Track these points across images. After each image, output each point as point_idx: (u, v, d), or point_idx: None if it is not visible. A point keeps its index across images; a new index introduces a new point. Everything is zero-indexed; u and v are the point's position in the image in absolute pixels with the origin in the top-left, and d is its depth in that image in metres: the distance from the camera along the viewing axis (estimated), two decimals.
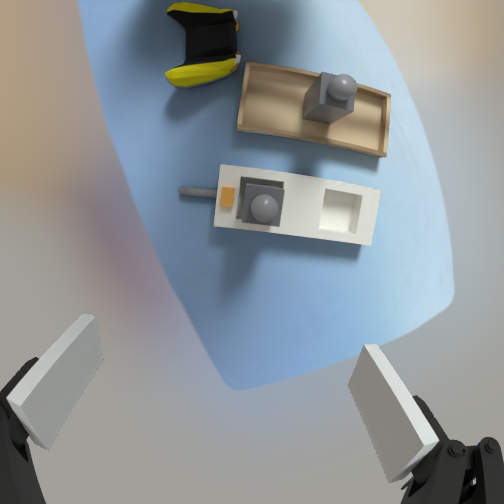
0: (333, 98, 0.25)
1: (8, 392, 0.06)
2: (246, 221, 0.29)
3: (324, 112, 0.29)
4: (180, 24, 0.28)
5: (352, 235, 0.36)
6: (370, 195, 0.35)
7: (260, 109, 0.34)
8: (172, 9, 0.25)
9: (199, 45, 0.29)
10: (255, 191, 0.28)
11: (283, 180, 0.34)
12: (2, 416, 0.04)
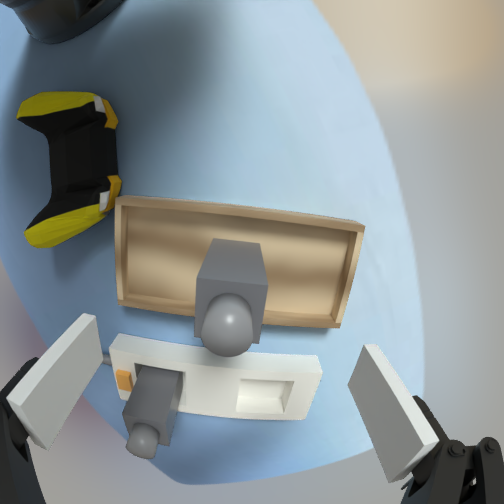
0: None
1: (8, 392, 0.06)
2: None
3: None
4: (39, 131, 0.18)
5: (279, 414, 0.27)
6: (306, 379, 0.26)
7: (148, 269, 0.24)
8: (19, 115, 0.15)
9: (60, 170, 0.19)
10: (134, 420, 0.19)
11: (184, 370, 0.25)
12: (2, 416, 0.04)
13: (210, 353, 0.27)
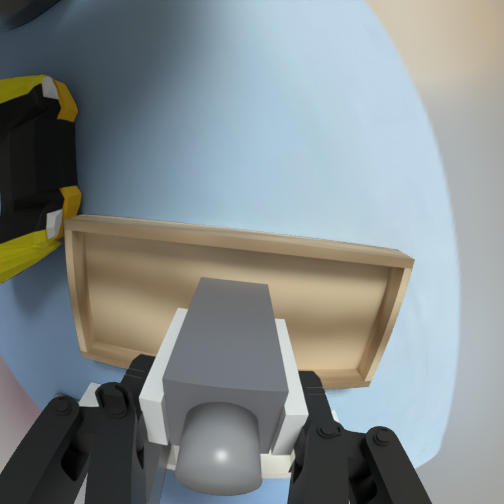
0: None
1: None
2: None
3: None
4: None
5: (287, 473, 0.20)
6: None
7: (116, 314, 0.17)
8: None
9: (6, 182, 0.12)
10: None
11: None
12: (133, 425, 0.06)
13: None
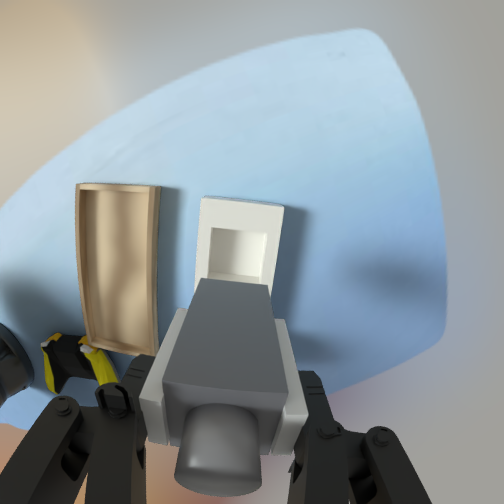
0: None
1: None
2: None
3: None
4: (66, 381, 0.33)
5: (268, 238, 0.27)
6: (210, 214, 0.26)
7: (132, 331, 0.32)
8: (54, 391, 0.30)
9: (80, 372, 0.32)
10: None
11: None
12: (133, 425, 0.06)
13: None
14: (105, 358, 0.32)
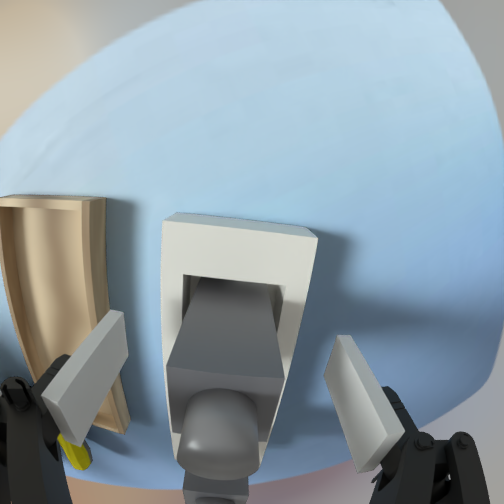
0: None
1: (39, 389, 0.07)
2: None
3: None
4: None
5: (288, 293, 0.15)
6: (179, 251, 0.14)
7: None
8: None
9: None
10: None
11: None
12: (36, 416, 0.05)
13: None
14: None
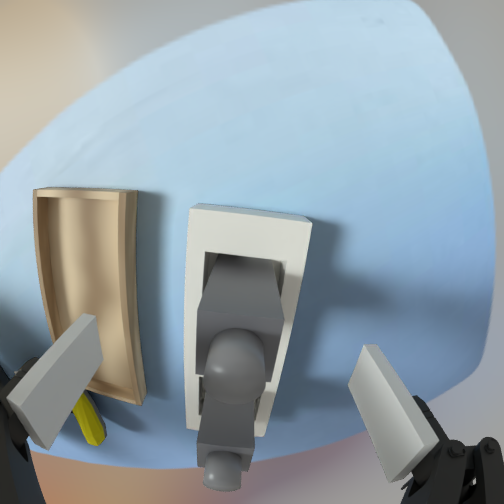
0: None
1: (8, 392, 0.06)
2: (246, 468, 0.16)
3: None
4: None
5: (288, 267, 0.19)
6: (202, 232, 0.18)
7: (113, 371, 0.24)
8: None
9: None
10: (204, 461, 0.16)
11: (196, 377, 0.21)
12: (2, 416, 0.04)
13: None
14: (84, 396, 0.24)
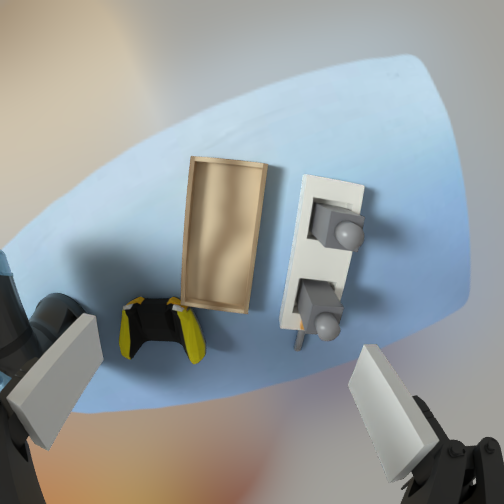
0: None
1: (8, 392, 0.06)
2: None
3: None
4: (141, 345, 0.42)
5: (353, 207, 0.34)
6: (313, 187, 0.34)
7: (227, 289, 0.40)
8: (128, 356, 0.39)
9: (163, 333, 0.41)
10: (311, 326, 0.32)
11: (298, 278, 0.37)
12: (2, 416, 0.04)
13: (291, 256, 0.39)
14: (194, 317, 0.40)
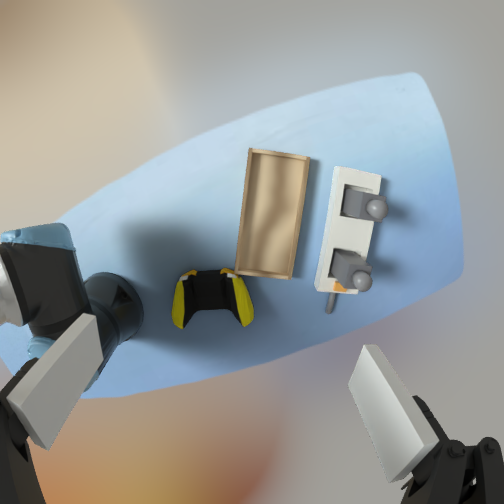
0: (369, 215, 0.37)
1: (8, 392, 0.06)
2: None
3: None
4: (192, 315, 0.49)
5: (373, 192, 0.43)
6: (344, 176, 0.43)
7: (273, 260, 0.49)
8: (182, 325, 0.47)
9: (215, 301, 0.48)
10: (348, 282, 0.41)
11: (332, 247, 0.46)
12: (2, 416, 0.04)
13: (326, 231, 0.47)
14: (244, 284, 0.48)
